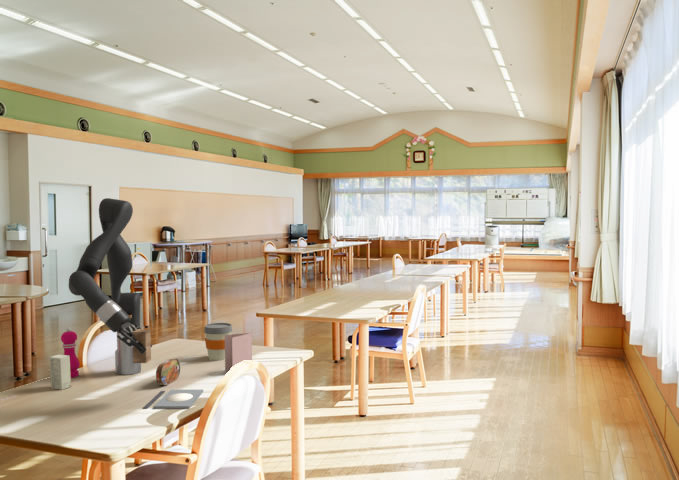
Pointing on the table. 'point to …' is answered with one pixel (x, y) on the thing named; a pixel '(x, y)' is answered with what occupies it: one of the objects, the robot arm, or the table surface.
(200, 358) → the table surface
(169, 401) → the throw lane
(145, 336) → the square wooden post
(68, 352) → the pepper mill
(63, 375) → the skincare box
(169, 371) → the tin
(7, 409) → the table surface
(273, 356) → the table surface
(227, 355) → the greeting card
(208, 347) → the reusable coffee cup
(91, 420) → the table surface
